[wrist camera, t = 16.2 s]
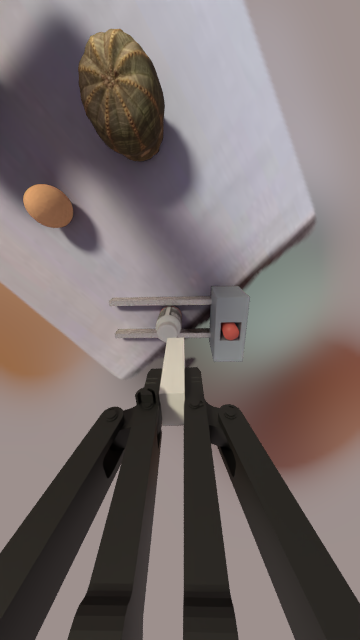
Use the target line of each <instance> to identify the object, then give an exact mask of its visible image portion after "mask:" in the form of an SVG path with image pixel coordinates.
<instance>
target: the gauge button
mask: <svg viewBox="0 0 360 640" xmlns="http://www.w3.org/2000/svg"><path fill="white" fill-rule="evenodd" d="M221 330H222V332H223V335H224V337H225V338H226V339H228V340H234V339H236V338H237V337H238V335H239V330H238V328H237V326H236V324H235V323H234V322H221Z"/></svg>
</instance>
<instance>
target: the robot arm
mask: <svg viewBox="0 0 360 640" xmlns="http://www.w3.org/2000/svg"><path fill="white" fill-rule="evenodd" d="M184 353H185V352H184V338H167V343H166V350H165V356H164V363H163V369H151V370H150V371H149V372H148V374H147V379H146V383H145V387H144V388H141V389H140V390H138V391H137V393H136V394H135V397H136V403H137V405H136V406H135V407H133V408H131V409H127V410H124V411H123V410H122V409H121V408H119V407H111V408H108V409H107V410H105V411H104V412H103V413H102V414H101V415H100V417H99V418H98V420H97V421H96V423H95V424H94V425H93V427H92V428H91V429H90V431H89V432H88V434H87V435H86V436H85V437H84V439H83V440H82V442H81V443H80V445H79V446H78V447H77V448H76V450H75V451H74V453H73V454H72V455H71V457H70V458H69V459H68V461H67V462H66V464H65V465H64V466H63V468H62V469H61V470H60V472H59V473H58V475H57V476H56V477H55V479H54V480H53V481H52V483H51V484H50V486H49V487H48V488H47V490H46V491H45V492H44V494H43V495H42V497H41V498H40V499H39V501H38V502H37V503H36V505H35V506H34V508H33V509H32V510H31V512H30V513H29V514H28V516H27V517H26V519H25V520H24V521H23V523H22V524H21V526H20V527H19V528H18V530H17V531H16V533H15V534H14V535H13V537H12V538H11V539H10V541H9V542H8V543H7V545H6V546H5V547H4V549H3V550H2V552H1V553H0V640H35V638H36V636H37V634H38V632H39V630H40V628H41V626H42V624H43V622H44V620H45V618H46V616H47V614H48V612H49V610H50V608H51V606H52V604H53V602H54V600H55V597H56V595H57V593H58V591H59V589H60V587H61V585H62V583H63V581H64V579H65V577H66V575H67V573H68V571H69V569H70V567H71V565H72V563H73V561H74V559H75V556H76V555H77V553H78V551H79V548H80V546H81V544H82V542H83V540H84V538H85V536H86V534H87V532H88V530H89V528H90V526H91V524H92V522H93V520H94V518H95V516H96V514H97V512H98V510H99V508H100V506H101V503H102V501H103V499H104V497H105V495H106V493H107V491H108V489H109V487H110V485H111V483H112V481H113V479H114V477H115V475H116V473H117V471H118V469H119V467H120V465H121V467H120V471H119V475H118V479H117V482H116V486H115V490H114V494H113V498H112V501H111V505H110V509H109V513H108V516H107V520H106V524H105V528H104V531H103V535H102V539H101V543H100V546H99V550H98V554H97V558H96V562H95V566H94V570H93V573H92V577H91V580H90V584H89V588H88V591H87V593H86V595H85V597H84V599H83V600H82V602H81V603H80V605H79V607H78V609H77V612H76V614H75V617H74V620H73V623H72V627H71V629H70V633H69V637H68V640H142V638H143V611H144V602H145V592H146V583H147V572H148V563H149V553H150V544H151V534H152V524H153V515H154V505H155V495H156V485H157V476H158V466H159V457H160V456H159V455H160V447H161V437H162V431H161V426H162V425H163V426H179V425H184V605H183V640H238V632H237V625H236V619H235V613H234V608H233V604H232V600H231V595H230V589H229V581H228V574H227V566H226V558H225V551H224V543H223V535H222V527H221V520H220V511H219V503H218V496H217V488H216V480H215V473H214V465H213V457H212V449H211V444H214V445H217V446H218V449H219V452H220V454H221V457H222V459H223V462H224V464H225V467H226V469H227V472H228V474H229V477H230V479H231V481H232V484H233V486H234V489H235V491H236V494H237V496H238V499H239V501H240V504H241V506H242V509H243V511H244V514H245V516H246V519H247V521H248V524H249V526H250V529H251V531H252V534H253V536H254V538H255V541H256V544H257V546H258V549H259V551H260V554H261V556H262V558H263V561H264V563H265V566H266V568H267V571H268V573H269V576H270V578H271V581H272V583H273V586H274V588H275V591H276V593H277V596H278V598H279V600H280V603H281V606H282V608H283V610H284V613H285V615H286V618H287V620H288V623H289V625H290V628H291V630H292V633H293V635H294V638H295V640H360V603H359V602H358V600H357V598H356V597H355V595H354V593H353V592H352V590H351V589H350V587H349V585H348V584H347V582H346V581H345V579H344V577H343V576H342V574H341V572H340V571H339V569H338V568H337V566H336V564H335V563H334V561H333V559H332V558H331V556H330V555H329V553H328V551H327V550H326V548H325V546H324V545H323V543H322V542H321V540H320V538H319V537H318V535H317V534H316V532H315V530H314V529H313V527H312V525H311V524H310V522H309V521H308V519H307V517H306V516H305V514H304V512H303V511H302V509H301V508H300V506H299V504H298V503H297V501H296V499H295V498H294V496H293V495H292V493H291V492H290V490H289V488H288V487H287V485H286V483H285V482H284V480H283V478H282V477H281V475H280V474H279V472H278V470H277V469H276V467H275V465H274V464H273V462H272V461H271V459H270V457H269V456H268V454H267V452H266V451H265V449H264V448H263V446H262V444H261V443H260V441H259V440H258V438H257V436H256V435H255V433H254V431H253V430H252V428H251V427H250V425H249V423H248V422H247V420H246V419H245V417H244V415H243V414H242V412H241V411H240V410H239V408H237V407H236V406H234V405H230V404H228V405H223V406H221V408H217V407H213V406H211V405H209V404H208V403H207V402H206V401H205V399H204V394H203V386H202V378H201V371H200V370H199V369H198V368H197V367H193V368H185V354H184Z"/></svg>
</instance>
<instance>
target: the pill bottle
mask: <svg viewBox="0 0 360 640" xmlns="http://www.w3.org/2000/svg"><path fill="white" fill-rule="evenodd" d="M181 321H182V314H181V311H180V310H179V309H178V308H177V307H175V306H172V305H169V306H166V307H164V308H163V309H162V310H161V312H160V314H159V317H158V320H157V323H156V331H157V335H158V337H159V339H160V340H161V341H163V342H167V338H176V337H177V335H178V334H179V333H180V331H181Z"/></svg>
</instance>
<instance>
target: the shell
mask: <svg viewBox="0 0 360 640" xmlns="http://www.w3.org/2000/svg"><path fill="white" fill-rule="evenodd" d="M78 72H79V87H80V93H81V100H82V103H83V106H84V109H85V112H86V115H87V117H88V118H89V119H90V121H91V123H92V124H93V126H94V128H95V130H96V132H97V133H98V135H99V136H100V138H101V139H102V140H103V141H104V143H105V144H106V145H107V146H108V147H109V148H111V149H112V150H114V151H116V152H118V153H120V154H123V155H124V156H126V157H127V158H128V159H130V160H133V161H145V160H148V159H151V158H152V156H153V155H155V154H157V153H158V151H159V147H160V144H161V142H162V140H163V127H164V125H163V120H164V108H165V105H164V97H163V92H162V88H161V85H160V83H159V79H158V77H157V73H156V70H155V68H154V66H153V63H152V61H151V60H150V58H149V57H148V56H147V55H146V53H145V52H144V51H143V49H142V47H141V46H140V45H139V44H138V43H137V42H136V41H135V40H134V39H133V38H132V37H131V36H130V35H128V34H126V33H124V32H123V31H122V30H121V29H109V30H108V31H107V32H105V33H103V32H99V33H96V34H95V35H93V36H90V39H89V40H88V42H87V44H86V47H85V52H84V55H83V56H82V58H81V60H80V62H79V67H78Z"/></svg>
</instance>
